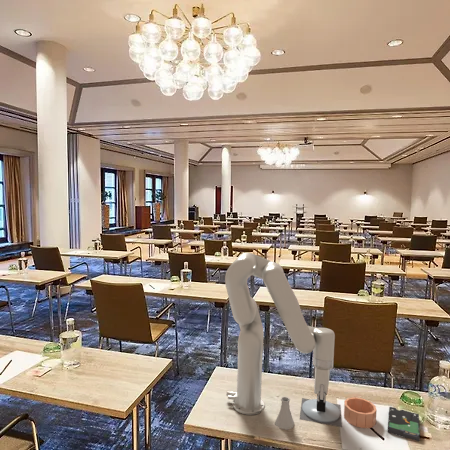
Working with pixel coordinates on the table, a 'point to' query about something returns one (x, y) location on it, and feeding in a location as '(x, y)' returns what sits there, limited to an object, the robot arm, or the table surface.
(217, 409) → the table surface
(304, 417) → the mat
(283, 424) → the flask
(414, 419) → the disk drive
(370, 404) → the bowl
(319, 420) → the lid
